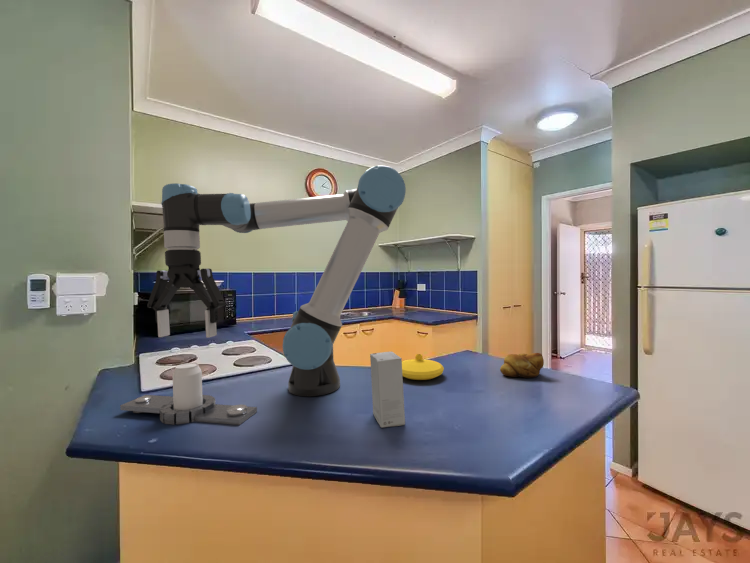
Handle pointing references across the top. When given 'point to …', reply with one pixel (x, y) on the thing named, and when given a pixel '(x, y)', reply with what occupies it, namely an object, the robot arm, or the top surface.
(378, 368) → the skincare box
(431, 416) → the top surface
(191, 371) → the beverage can
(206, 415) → the grey pipe clamp bracket
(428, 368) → the yellow lidded dish
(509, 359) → the bread roll
